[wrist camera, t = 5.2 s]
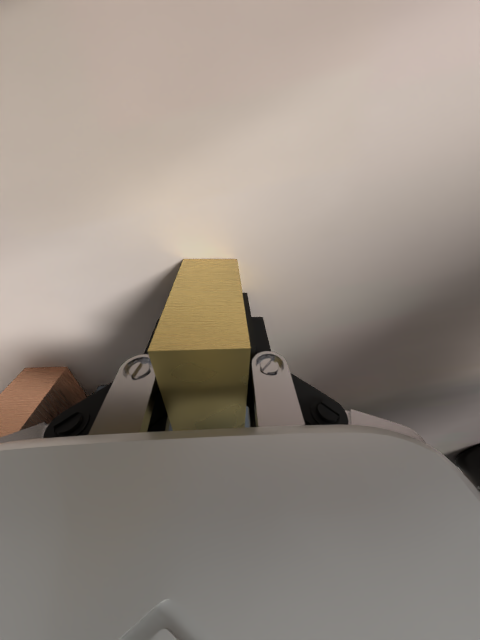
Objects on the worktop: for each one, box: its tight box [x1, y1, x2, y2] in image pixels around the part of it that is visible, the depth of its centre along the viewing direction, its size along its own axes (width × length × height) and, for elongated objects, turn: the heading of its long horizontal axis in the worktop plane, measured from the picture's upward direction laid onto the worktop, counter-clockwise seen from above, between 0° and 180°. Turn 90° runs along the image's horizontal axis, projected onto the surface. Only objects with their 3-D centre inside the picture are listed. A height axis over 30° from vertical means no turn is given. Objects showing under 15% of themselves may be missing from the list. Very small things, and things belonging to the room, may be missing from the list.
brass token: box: [148, 259, 251, 431], centre depth 9 cm, size 2×6×6 cm, turn 179°
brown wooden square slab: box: [0, 367, 87, 437], centre depth 13 cm, size 2×6×6 cm, turn 178°
